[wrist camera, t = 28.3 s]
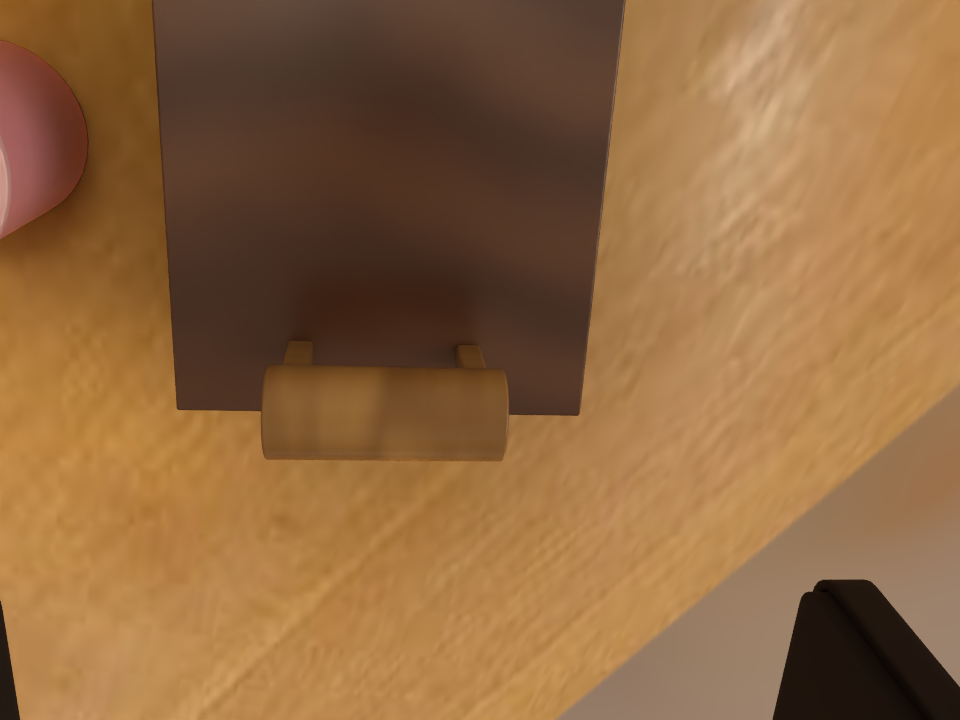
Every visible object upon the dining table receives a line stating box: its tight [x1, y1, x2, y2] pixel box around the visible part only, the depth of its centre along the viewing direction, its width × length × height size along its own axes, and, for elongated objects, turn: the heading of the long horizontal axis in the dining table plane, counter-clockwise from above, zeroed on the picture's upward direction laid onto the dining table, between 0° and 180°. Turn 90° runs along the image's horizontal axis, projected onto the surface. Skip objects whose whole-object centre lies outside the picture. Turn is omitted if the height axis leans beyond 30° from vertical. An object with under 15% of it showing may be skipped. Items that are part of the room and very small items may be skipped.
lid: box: [152, 0, 626, 461], centre depth 22 cm, size 18×12×6 cm
